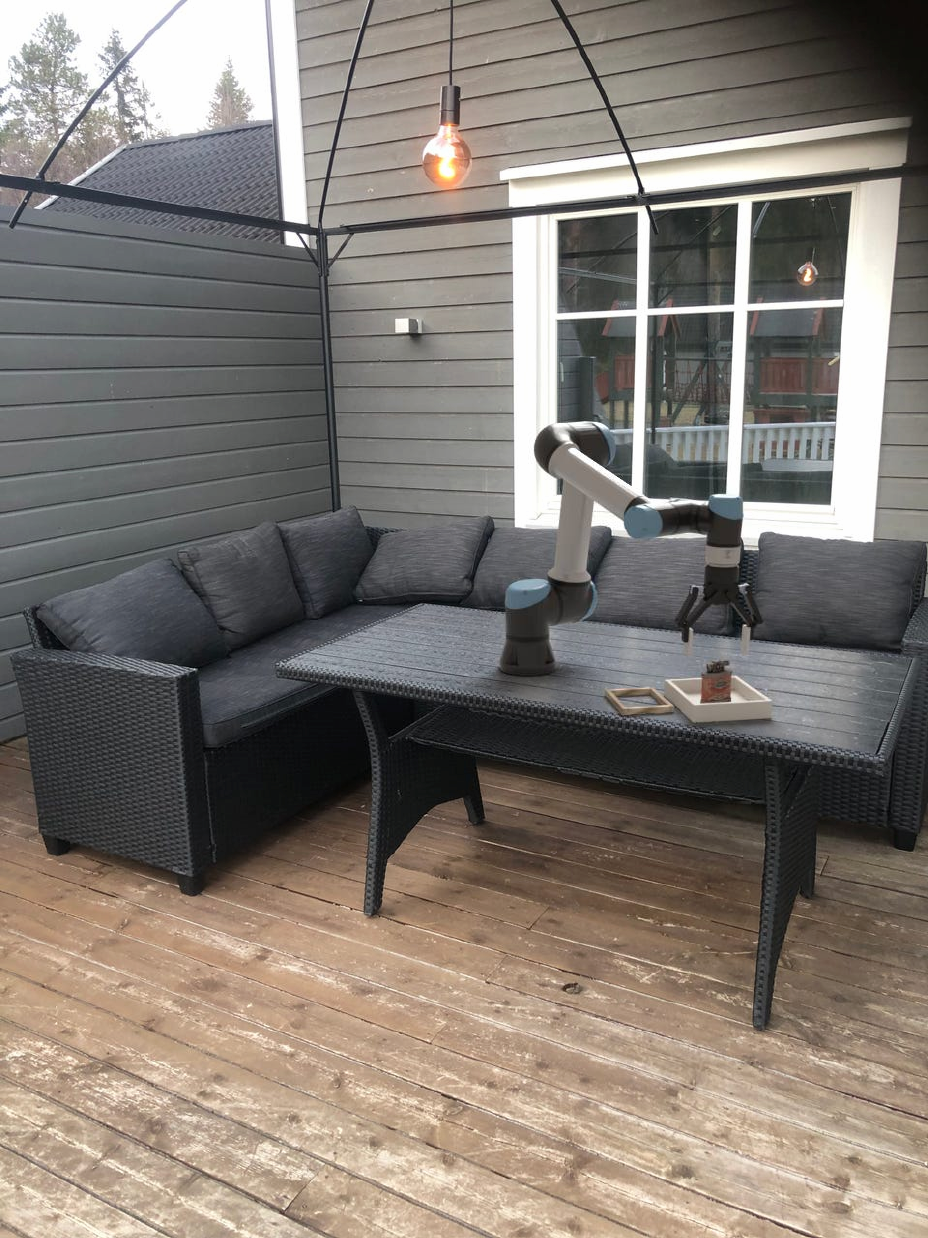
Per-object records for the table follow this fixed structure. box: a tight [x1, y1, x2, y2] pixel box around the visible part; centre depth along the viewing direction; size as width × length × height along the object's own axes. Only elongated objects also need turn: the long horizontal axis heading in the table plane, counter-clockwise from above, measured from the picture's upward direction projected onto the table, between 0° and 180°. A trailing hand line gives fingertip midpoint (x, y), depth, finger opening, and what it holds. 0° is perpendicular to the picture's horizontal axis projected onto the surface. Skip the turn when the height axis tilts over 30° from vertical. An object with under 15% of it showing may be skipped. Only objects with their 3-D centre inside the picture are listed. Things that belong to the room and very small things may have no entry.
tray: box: [663, 675, 773, 724], centre depth 224 cm, size 18×20×4 cm
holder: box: [604, 686, 675, 716], centre depth 227 cm, size 12×15×2 cm
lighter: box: [700, 658, 733, 704], centre depth 223 cm, size 8×3×10 cm, turn 114°
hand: (716, 654), depth 222 cm, fingers open, 13 cm apart
